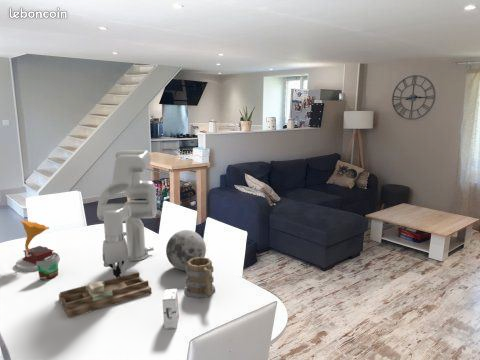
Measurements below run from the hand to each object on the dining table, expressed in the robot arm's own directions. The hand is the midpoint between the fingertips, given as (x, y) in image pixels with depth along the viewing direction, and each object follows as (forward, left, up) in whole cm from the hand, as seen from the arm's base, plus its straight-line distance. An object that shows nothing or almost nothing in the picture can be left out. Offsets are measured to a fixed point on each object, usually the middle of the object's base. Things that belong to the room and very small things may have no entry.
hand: (117, 276), depth 162 cm
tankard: (-29, +24, -8) cm, 39 cm away
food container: (+21, -34, -8) cm, 41 cm away
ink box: (-8, +36, -8) cm, 38 cm away
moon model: (-36, -4, -8) cm, 37 cm away
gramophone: (+24, -56, -8) cm, 61 cm away
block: (+10, +1, -5) cm, 11 cm away
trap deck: (+6, +1, -7) cm, 9 cm away
